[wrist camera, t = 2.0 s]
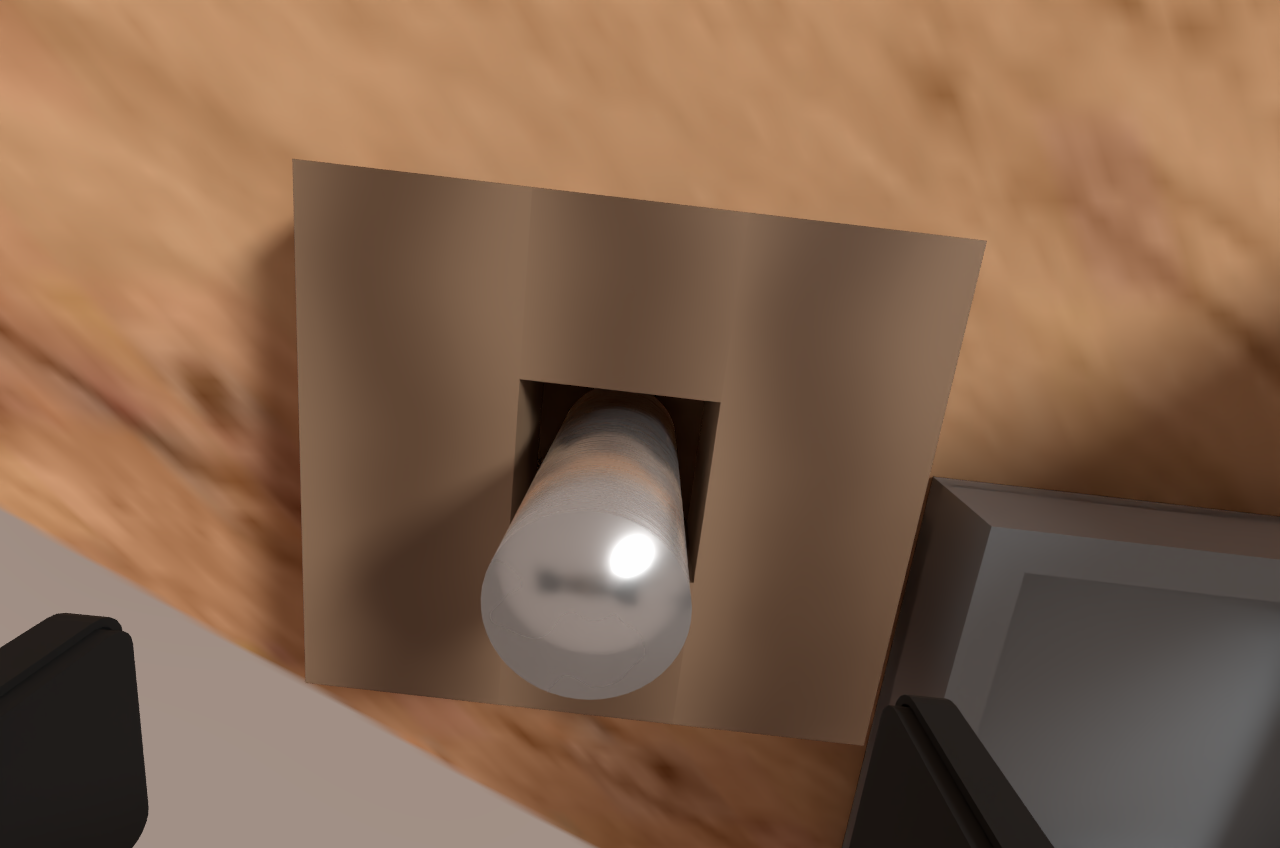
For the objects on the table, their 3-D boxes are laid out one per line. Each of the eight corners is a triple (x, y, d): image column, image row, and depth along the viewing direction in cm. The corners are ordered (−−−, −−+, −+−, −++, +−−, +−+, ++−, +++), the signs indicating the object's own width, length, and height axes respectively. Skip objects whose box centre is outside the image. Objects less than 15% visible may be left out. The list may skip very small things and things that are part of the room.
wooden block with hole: (920, 240, 19) (986, 240, 15) (828, 660, 23) (863, 745, 19) (366, 175, 19) (292, 158, 15) (364, 607, 23) (305, 682, 19)
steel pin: (682, 391, 20) (706, 524, 11) (668, 499, 21) (677, 710, 12) (566, 377, 20) (486, 498, 11) (557, 486, 21) (475, 687, 12)
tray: (1432, 534, 21) (1595, 596, 17) (1251, 917, 25) (1352, 1031, 22) (933, 476, 21) (991, 526, 17) (836, 870, 25) (866, 977, 22)
